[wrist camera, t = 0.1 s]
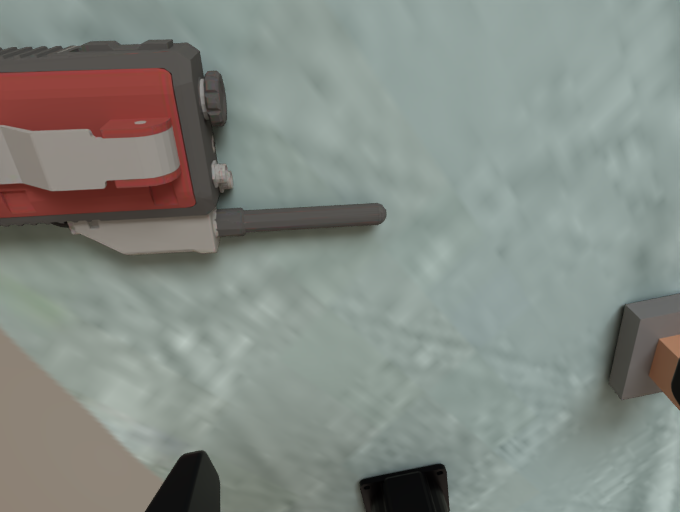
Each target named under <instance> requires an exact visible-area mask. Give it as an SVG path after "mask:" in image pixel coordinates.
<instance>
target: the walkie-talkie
mask: <svg viewBox="0 0 680 512" xmlns="http://www.w3.org/2000/svg"><path fill="white" fill-rule="evenodd" d="M226 120H227V107H226V95H225V88H224V84H223V80H222V76H221V74H220V73H219V72H218V71H208V72H207V73H206V74H205V76H204V75H203V69H202V63H201V56H200V51H199V50H198V49H196V48H195V47H193V46H192V45H190V44H189V43H173V40H148V41H146V42H144V43H142V44H133V45H120V44H119V43H117V42H116V41H93V42H88V43H86V44H83V45H81V46H69V47H67V48H64V49H63V48H62V47H61V46H55V47H53V48H50V49H48V48H47V47H46V46H42V47H39V48H36V49H32V47H25V48H22V49H17V48H16V47H11V48H8V49H4V50H2V48H0V225H3V226H5V227H7V226H9V225H14V224H16V225H18V226H23V225H24V224H32V225H37V224H38V223H45V224H54V225H57V226H60V227H67V228H70V231H71V233H72V234H82V235H84V236H86V237H88V238H90V239H93V240H95V241H97V242H99V243H101V244H103V245H105V246H108V247H110V248H112V249H114V250H116V251H118V252H121V253H123V254H125V255H142V254H158V253H175V252H191V251H196V252H198V253H201V254H206V253H216V252H217V250H218V246H219V241H220V237H226V236H244V235H245V233H246V232H262V231H279V230H296V229H313V228H330V227H347V226H364V225H379V224H381V223H382V222H383V221H384V220H385V218H386V209H385V208H384V207H383V206H382V205H381V204H378V203H370V204H352V205H334V206H316V207H299V208H281V209H263V210H245V211H244V210H243V209H242V208H230V209H217V207H216V205H217V201H218V198H219V194H220V192H221V193H223V192H224V189H232V188H233V177H232V172H231V171H228V170H227V165H226V164H218V163H217V157H216V150H215V143H214V138H213V132H212V125H213V126H224V124H225V123H226ZM211 124H212V125H211Z"/></svg>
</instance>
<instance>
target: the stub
mask: <svg viewBox="0 0 680 512" xmlns="http://www.w3.org/2000/svg"><path fill="white" fill-rule="evenodd" d="M679 358H680V293H679V294H674V295H670V296H665V297H660V298H655V299H650V300H645V301H640V302H635V303H630V304H625V309H624V314H623V318H622V323H621V328H620V332H619V337H618V342H617V347H616V351H615V356H614V361H613V365H612V370H611V375H610V380H609V385H610V386H611V387H612V389H613V390H614V391H615V393H616V394H617V395H618V396H619V398H620V399H621V400H624V399H629V398H634V397H639V396H644V395H649V394H654V393H659V392H664V393H665V395H666V396H667V397H668V398H669V399H670V400H671V401H672V402H673V404H674V405H675V406H676V407H677V408H678V409H679V410H680V406H679V404H678V403H677V401H676V399H675V398H674V396H673V393H672V390H671V381H672V378H673V375H674V372H675V369H676V366H677V363H678V360H679Z"/></svg>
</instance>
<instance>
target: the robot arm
mask: <svg viewBox="0 0 680 512" xmlns="http://www.w3.org/2000/svg"><path fill="white" fill-rule="evenodd" d="M671 390H672V393H673V396H674V398H675V399H676V401H677V403H678V404H679V406H680V358H679V360H678V363H677V366H676V369H675V372H674V375H673V378H672V381H671ZM360 490H361V494H362V497H363V501H364V505H365V509H366V512H449V511H450V509H449V496H448V484H447V472H446V468H445V466H444V465H443V464H436V465H431V466H426V467H421V468H417V469H412V470H407V471H402V472H397V473H392V474H387V475H382V476H377V477H372V478H367V479H363V480H361V481H360ZM145 512H220V480H219V476H218V474H217V472H216V470H215V468H214V466H213V464H212V462H211V460H210V458H209V457H208V455H207V453H206V452H205V451H203V450H200V451H195V452H190V453H186V454H183V455H182V456H181V457H180V458H179V459H178V461H177V462H176V464H175V465H174V467H173V469H172V470H171V472H170V473H169V475H168V476H167V478H166V479H165V481H164V483H163V484H162V486H161V487H160V489H159V491H158V492H157V493H156V495H155V497H154V498H153V500H152V501H151V503H150V504H149V506H148V508H147V509H146V511H145Z"/></svg>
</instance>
